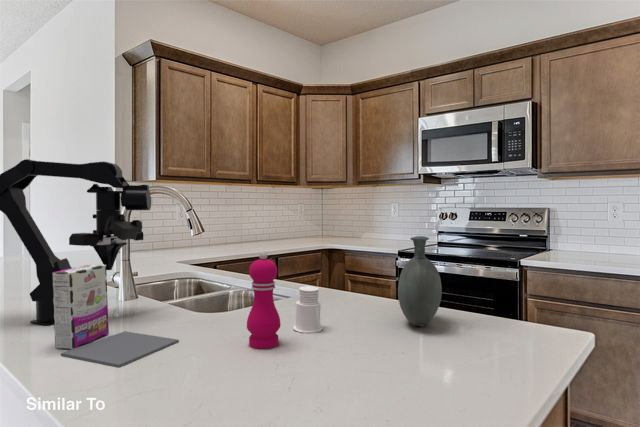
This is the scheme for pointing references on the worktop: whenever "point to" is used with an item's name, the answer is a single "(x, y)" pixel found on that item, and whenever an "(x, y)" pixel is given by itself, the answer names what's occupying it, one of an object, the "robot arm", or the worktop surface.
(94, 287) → the candy bar box
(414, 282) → the flask
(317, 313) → the downlight
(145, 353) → the mat
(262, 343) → the pepper mill
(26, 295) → the worktop surface
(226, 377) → the worktop surface
